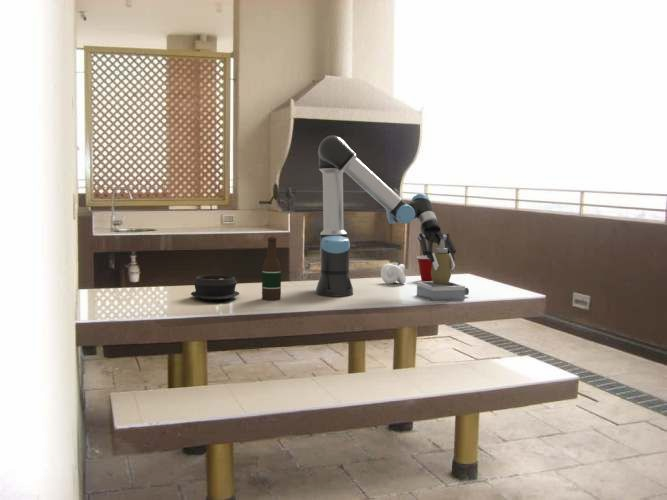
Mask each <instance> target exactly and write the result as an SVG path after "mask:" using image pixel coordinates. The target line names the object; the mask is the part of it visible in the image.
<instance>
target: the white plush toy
mask: <svg viewBox="0 0 667 500" xmlns="http://www.w3.org/2000/svg"><path fill="white" fill-rule="evenodd" d="M405 269H406V265H405V264H403V263H399V265H396V264H393V263H385V264H384V265H383V266H382V267H381V269H380V276H381V279H382V281H383V282H384V283H385V284H387V285H393V284H394V283H396V282H398V283H399V284H401V285H404V284H405V283H406V281H407V280H406V279H407V278H406V275H405V272H404V271H405Z"/></svg>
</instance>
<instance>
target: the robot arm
mask: <svg viewBox="0 0 667 500" xmlns="http://www.w3.org/2000/svg"><path fill="white" fill-rule="evenodd" d="M317 150H318V151H317V154H318V170H319V171H320V172H321V174H322V203H323V204H322V209H323V210H322V213H323V216H322V218H323V230H322V231H320V234H319V242H320V245H319V255H320V275H319V279H318V282H317V285H316V289H315V293H316V295H318V296H319V295H320V296H325V297H346V296H347V297H348V296H351V295H353V294H354V288H353V285H352V280H351V278H350V250H351V249H350V248H351V244H350V239H349V237H348V232H347V231H346V230H345V229H344V173H345V174H346V175H347V176H349V177H350V178H351V179H352V180H353V181H354V182H355V183H356V184H357V185H358V186H359V187H360V188H362V189H363V190H364V191H365V192H367V194H368V195H369V196H370V197H371V198H373V199H374V200H375V201H376V203H378V204H380V205H381V206H382V207H383V208H384V209H385V210H386V211H385V212H386V218H387V220H388V223H389V224H390V225H391V224H398V223H400V224H403V225H406V224H407V225H408V224H409V223H411V222H413V221H414V220H415V219H417V221H418V223H419V224H418V225H419V226H420V229H421V232H422V233H419V234H418V237H417V240H418V241H419V243H420V247H421V253H422V256H426V255H427V258H429V259H430V262H432V263H433V266H434V269H435V270H437V269H438V267H439V265H438V262H437V259H436V256H435V252H433V244H437V246H439V244H440V240H441V239H444V244H445V248H447V249H448V252H447V254H449V255H450V267H451V271H453V270H454V268H455V267H456V264H455V257H454V256H455V255H456V252H457V250H456V247H455V246H454V244H453V241H452V239H451V236H450V234H449V233H446V234H444V233H443V232H442V230H441V227H440V223H439V221H438V219H437V216H436V214H435V212H434V211H435V210H434V208H433V205H432V203H431V200H430V197H429V196H428V195H427V194H425V193H418V194H416V195H414V196H413V197H412V198H411V201H409V202H406V201H405V200H403V198H401V197H400V196H399V194H397V193H396V192H395V191H394V190H393V189H392V188H391V187H389V186H388V185H387V184H386V183H385V182H384V181H383V180H382V179H381V178H379V176H377V175H376V173H374V172H373V171H372V170H371V169H370V168H369V167H368V166H366V165H365V164H364V163H363V162H362V161H361V160H360V159H359V158H358V157H357V153H356V152H355V151H354V150H353V149H352V148H351V147H350V146H349V145H348V144H347V143H346V140H344V139H343V138H342V137H340V136H337V135H328V136H326V137H324V138H323V140H322V141H321V142H320V144H319V146H318V149H317ZM426 241H427V243H426Z"/></svg>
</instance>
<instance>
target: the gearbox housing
mask: <svg viewBox="0 0 667 500" xmlns="http://www.w3.org/2000/svg"><path fill="white" fill-rule="evenodd" d="M416 282H417V283H416V296H419V297H421V298H424V299H425V300H426V299H427V300H429V301H432V302H438V301H439V302H441V301H465V296H467V295H469V293H470V290H469V288H468V287H466V285H465V286H464V285H463V284H459V283H456V282H452V281H449V282H448V284H444V285H440V284H434V283H433V281H416Z"/></svg>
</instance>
